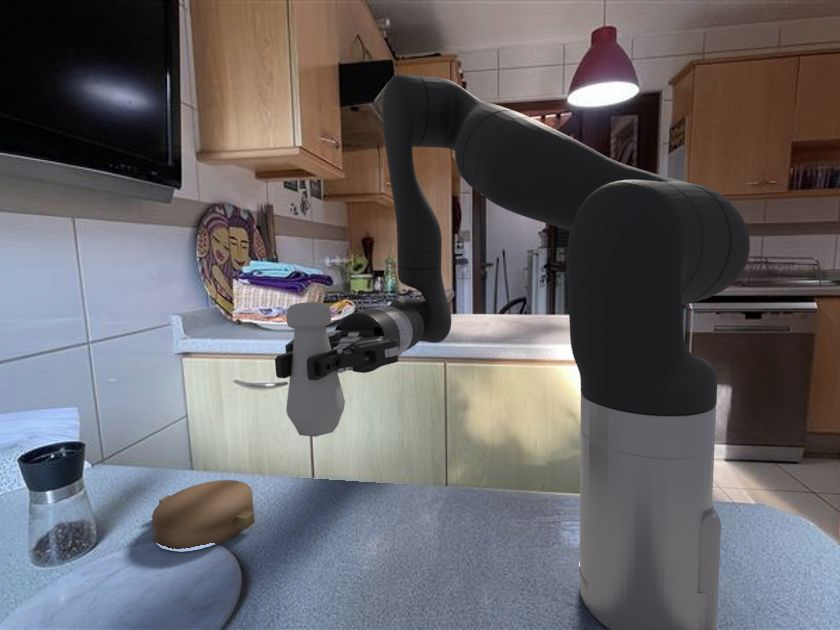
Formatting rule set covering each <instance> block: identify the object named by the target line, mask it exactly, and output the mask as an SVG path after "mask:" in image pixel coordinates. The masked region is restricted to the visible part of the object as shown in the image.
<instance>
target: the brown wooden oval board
mask: <svg viewBox="0 0 840 630" xmlns="http://www.w3.org/2000/svg"><path fill="white" fill-rule="evenodd" d="M254 511H255V509H254V499H253V489H252V488H251V486H250V485H249V484H247V483H245V482H244V481H239V480H233V479H219V480H214V481H213V480H212V481H206V482H202V483H199V484H195V485H191V486H189V487H187V488H184V489H182V490H181V489H180V490H179V491H177V492H175V493H173V494H171V495H166V496H164V497H162V498H161V499H159V500H158V505H157V506H156V507H155V508H154V510H153V512H152V516H151V520H152V527H153V537H154V543H155V542H156V543H158V544H160V545H162V546H166V547H168V548H172V549H174V548H175V549H181V548H182V549H183V548H184V549H185V548H191V547H195V546H200V545H206V544H209V543H215V544H217V545H220V544H222V543H225V542H227V541H228V540H230V539H232V538H234V537H235V536H237V535H238V534H240V533H241V532H243V530H248V529H249V528H250V527H252V526H253V525H254V524H255V521H256V520H255V512H254ZM156 543H155V544H156Z"/></svg>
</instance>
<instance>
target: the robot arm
mask: <svg viewBox="0 0 840 630" xmlns="http://www.w3.org/2000/svg"><path fill="white" fill-rule="evenodd" d="M383 93H384V94H383V98H382V126H383V129H382V130H383V137H384V143H385V151H386V158H387V159H386V160H387V165H388V166H387V167H388V174H389V180H390V186H391V192H392V199H393V204H394V205H393V206H394V212H395V223H396V236H397V237H396V241H397V243H396V245H397V246H396V247H397V248H396V251H397V252H396V253H397V277H398V281H399V282H400V283H401V284H403V285H405V286H407V287H410V288H412V289H415V290H417V291H419V292H420V294H421V295H422V297H423V298H418V297H417V298H416V297H408V296H405V297H404V296H402V297H397V298H394V299H393V300H392V301H391V302H390V304H389V305H388V306H377V307H372V308H368V309H364V310H360V311H357V312H353V313H349V314H347V315H345V316H344V317H343V318H342V319H340V320H339V322H338V323H337V326H336V327H335V329H334V330H331V331H327V334H328V338H329V342H330V346H331V350H330V351H328V352H326V353H321V354H316V355H314V356H311V357H309V358H308V359H307V374H308V379H309V380H319V379H321V378H323V377H325V376H327V375H328V374H330V373H332V372H334V371H336V372H337V373H338V374H343V373H346V372H347V371H351V372H354V373H362V374H366V373H367V374H368V373H370V372H374V371H376V370H377V369H379V368H381V367H383V366H387V365H392V364H395V363H399V356H401V355H402V354H403V353H404V352H407V351H408V350H410V349H412V348H413V347H415V346H416V344H418V343H419V342H425V343H432V344H438V343H441V342H443V341H444V340H445V339H446V338H447V337H448V336H449V334H450V331H451V328H452V314H451V313H452V312H451V309H450V306H449V305H450V304H449V302H448V299H447V294H446V291H445V285H444V280H443V273H442V259H443V258H442V253H443V252H442V249H443V247H442V246H443V245H442V244H443V243H442V242H443V241H442V238H443V237H442V230H441V226H440V222H439V220H438V218H437V216H436V214H435V212H434V210H433V208H432V206H431V205H430V202H429V201H428V198H427V196H426V195H425V193H424V191H423V189H422V187H421V185H420V182H419V180H418V177H417V174H416V171H415V166H414V165H415V164H414V157H413V154H414V153H413V147H414V148H415V147H416V148H439V149H440V148H441V149H442V148H443V149H444V148H445V149H448V150H452V151H454V158H455V164H456V168H457V170H458V173H459V174H460V176H461V178H462V179H463V180H464V181H465V182H466V184H467V185H468V186H470V187H471V189H473V190H475V191H476V192H478V194H480V195H482V196H483V197H484V198H486V200H488V201H489V202H491V203H492V204H494V205H496V206H497V207H500V208H501V209H504V210H507V211H508V212H511V213H514V214H516V215H518V216H519V215H520V216H521V217H524V218H527V219H531V220H534V221H538V222H541V223H544V224H547V225H551V226H554V227H557V228H559V229H560V228H561V229H564V230H566V231H569V234H568V235H569V236H568V241H567V249H566V250H567V251H566V279H567V283H566V284H567V285H566V286H567V300H568V317H569V338H570V339H569V340H570V348H571V353H572V356H573V359H574V362H575V364H576V367H577V369H578V372H579V379H580V448H579V449H580V451H579V452H580V455H579V457H580V461H579V462H580V465H579V466H580V469H579V471H580V472H579V475H580V477H579V481H580V482H579V560H578V561H579V562H578V570H579V571H578V572H579V592H580V596H581V599H582V601H583V603H584V605H585V606H586V608H587V609H588V611H589V612H590V613H591V615H592V616H593V617H594V618H595V619H597V621H598V622H600V624H601V625H603V626H604V627H606V628H607V629H608V630H717V626H718V603H719V581H720V580H719V579H720V578H719V577H720V559H721V558H720V556H721V537H722V535H721V534H722V522H721V517H720V516H719V514H718V513H717V511H716V509H715V506H714V505H713V493H714V491H713V490H714V489H713V488H714V468H715V467H714V466H715V445H716V444H715V442H716V441H715V440H716V418H717V417H716V416H717V401H718V400H717V399H718V398H717V397H718V374H717V370H716V369H715V367H714V366H713V364H712V363H711V362H710V361H708V360H706V359H704V358H702V357H699V356H698V355H695V354H692V352H690V350H689V348H688V347H687V344H686V343H685V334H684V316H683V314H684V313H683V312H684V311H683V310H684V309H683V305H689V304H693V303H696V302H699V301H702V300H705V299H709V298H711V297H713V296H716V295H717V294H720V293H721V292H723V291H724V290H726V289H728V288H729V287H730V286H731V285H733V284H734V283H735V282H736V281H737V280H738V279H739V278H740V276H741V275H742V274H743V272H744V270H745V268H746V266H747V264H748V260H749V256H750V251H751V245H750V244H751V243H750V242H751V241H750V235H749V231H748V228H747V224H746V222H745V220H744V219H743V218H744V217H742V215H741V213H740V212H739V211H738V209H737V208H736V207H735V206H734V205H733V203H732V202H731V201H730V200H729V199H728V198H727V197H725V196H724V195H722V194H721V193H719V192H718V191H716V190H714V189H712V188H709V187H707V186H704V185H699V184H696V183H690V182H686V181H682V180H678V179H675V178H671V177H667V176H663V175H661V174H657V173H654V172H650V171H647V170H643V169H640V168H637V167H633V166H630V165H628V164H624V163H621V162H619V161H617V160H615V159H612V158H610V157H608V156H606V155H604V154H602V153H600V152H598V151H597V150H595V149H594V148H592V147H590V146H588V145H586V144H584V143H582V142H580V141H579V140H577V139H575V138H573V137H571V136H569V135H567V134H565V133H563V132H561V131H559V130H557V129H555V128H552V126H551V127H550V126H549V125H548V124H547V125H546V124H545V123H543V122H541V121H539V120H537V119H534V118H533V117H530V116H528V115H525V114H523V113H522V112H518V111H516V110H512V109H510V108H507V107H504V106H501V105H498V104H494V103H489V102H484V101H483V100H480V99H479V98H478V97H476V96H474V95H473V94H471V92H469V91H468V90H466V89H465V88H463V87H462V86H461V85H459V84H458V83H456V82H454V81H452V80H450V79H446V78H441V77H435V76H434V77H433V76H422V75H412V74H396V75H394V76H392V78H390V80H389V81H388V82H387V84H386V87H385V90H384V92H383ZM293 344H294V338H293V339H292V340H291V341H289V342H288V343H286V344H285V345H284V346H285V348H284V349H285V353H282V354H279V355H277V356H276V357H275V359H274V365H275V376H276V377H277V378H278V379H287V378H290V376H291V366H292V354H293Z"/></svg>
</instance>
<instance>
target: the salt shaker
mask: <svg viewBox="0 0 840 630" xmlns="http://www.w3.org/2000/svg"><path fill="white" fill-rule="evenodd" d="M285 318H286V319H285V320H286V324H287V326H288V328H290V329H291V328H292V329H293V330H294V332H293V333H294V334H293V335H294V336H293V339H294V344H293V354H292V366H291V376H290V377H289V382H288V383H289V384H288V391H287V392H288V393H287V400H286V408H285V410H286V415H287V417H288V418H289V420H290V421H291V423H292V425H294V428H295V429H296V432H297V433H298V435H299V436H304V437H313V438H315V437H320V436H323V435H327V434H331V433H334V431H335V430H336V429H337V427H338V426H339V423H340V420H341V417H342V415H343V412H344V409H345V404H346V400H345V397H344V393H343V389H342V384H341V382H340V380H341V379H340V377H339V373H337V372H336V371H334V372H332V373H330V374H328V375H327V376H325V377H323V378H321V379H319V380H309V379H308V374H307V359H308V358H309V357H311V356H314V355H316V354H321V353H326V352H328V351H330V350H331V346H330V342H329V338H328V334H327V333H328V331H327V330H328V329H327V327H326V326H328V325H330V324H331V320H332V311H331V307H330V306H329V305H328V304H327V303H325V302H320V301H307V302H306V301H305V302H298V303H294V304H291V305H290V306H288V308H287V309H286V316H285Z"/></svg>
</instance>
